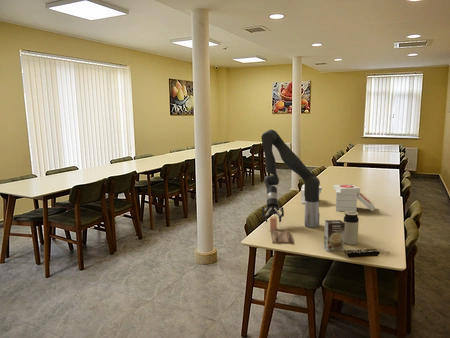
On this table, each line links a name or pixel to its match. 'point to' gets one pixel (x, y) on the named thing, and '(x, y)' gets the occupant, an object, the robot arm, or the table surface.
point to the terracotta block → (273, 223)
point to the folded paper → (304, 196)
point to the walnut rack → (281, 236)
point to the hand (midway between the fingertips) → (273, 221)
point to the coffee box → (334, 235)
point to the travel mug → (351, 227)
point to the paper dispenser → (350, 198)
